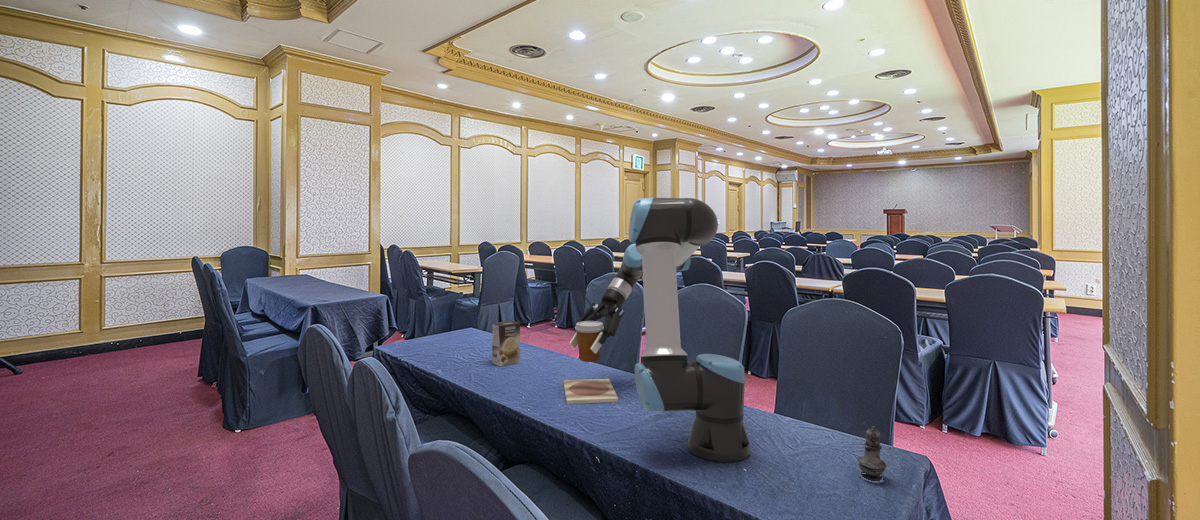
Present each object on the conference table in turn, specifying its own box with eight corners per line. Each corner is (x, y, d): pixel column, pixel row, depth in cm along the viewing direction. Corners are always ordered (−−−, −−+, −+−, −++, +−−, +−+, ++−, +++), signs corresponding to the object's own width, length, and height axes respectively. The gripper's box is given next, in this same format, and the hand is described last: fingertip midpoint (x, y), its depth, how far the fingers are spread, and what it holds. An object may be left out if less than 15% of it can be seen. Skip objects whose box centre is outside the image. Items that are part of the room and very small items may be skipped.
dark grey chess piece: (853, 478, 119) (856, 426, 118) (859, 468, 124) (862, 418, 123) (883, 486, 116) (885, 433, 115) (888, 476, 120) (890, 424, 119)
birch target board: (617, 401, 167) (617, 397, 167) (566, 403, 166) (566, 399, 165) (609, 382, 187) (609, 378, 187) (563, 383, 185) (563, 379, 185)
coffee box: (500, 367, 205) (499, 325, 204) (491, 363, 210) (491, 323, 209) (520, 362, 211) (520, 322, 210) (512, 359, 216) (511, 320, 215)
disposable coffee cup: (600, 364, 170) (600, 327, 169) (571, 362, 172) (571, 325, 171) (606, 356, 179) (606, 321, 178) (578, 355, 181) (578, 320, 180)
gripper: (646, 305, 177) (612, 361, 167) (599, 297, 193) (566, 348, 183) (635, 290, 173) (600, 347, 163) (588, 284, 188) (554, 335, 179)
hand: (582, 348), depth 173 cm, fingers closed on disposable coffee cup, 9 cm apart
